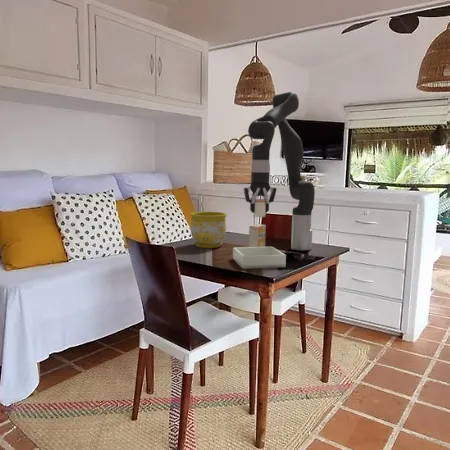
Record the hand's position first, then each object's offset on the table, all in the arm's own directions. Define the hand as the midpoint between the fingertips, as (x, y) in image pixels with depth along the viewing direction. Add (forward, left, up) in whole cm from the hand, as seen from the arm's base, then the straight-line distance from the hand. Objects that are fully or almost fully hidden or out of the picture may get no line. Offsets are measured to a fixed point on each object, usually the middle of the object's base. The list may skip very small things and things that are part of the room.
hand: (259, 212), depth 177 cm
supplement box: (-5, -20, -22) cm, 30 cm away
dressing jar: (0, 0, -2) cm, 2 cm away
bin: (0, 0, -21) cm, 21 cm away
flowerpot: (+15, -40, -22) cm, 48 cm away
